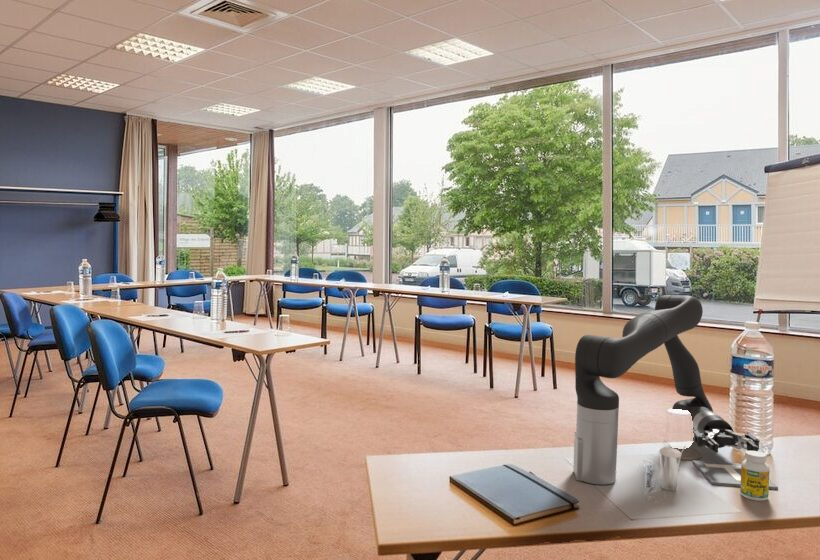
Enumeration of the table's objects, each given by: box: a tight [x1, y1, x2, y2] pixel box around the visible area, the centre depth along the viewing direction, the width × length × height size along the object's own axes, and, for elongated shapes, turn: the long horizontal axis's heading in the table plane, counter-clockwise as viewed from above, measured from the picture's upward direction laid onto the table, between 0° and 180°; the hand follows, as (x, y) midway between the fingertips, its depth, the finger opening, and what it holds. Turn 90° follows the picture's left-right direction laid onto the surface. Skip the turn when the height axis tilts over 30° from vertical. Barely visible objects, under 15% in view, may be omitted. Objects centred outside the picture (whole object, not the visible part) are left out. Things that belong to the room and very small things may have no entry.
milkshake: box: [658, 445, 686, 492], centre depth 133 cm, size 4×5×10 cm
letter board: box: [692, 459, 779, 491], centre depth 142 cm, size 14×14×1 cm
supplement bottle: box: [739, 450, 771, 502], centre depth 130 cm, size 5×5×10 cm
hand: (735, 449), depth 141 cm, fingers open, 8 cm apart
